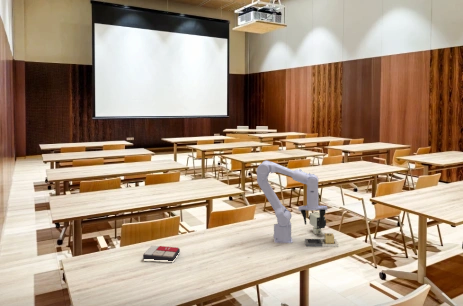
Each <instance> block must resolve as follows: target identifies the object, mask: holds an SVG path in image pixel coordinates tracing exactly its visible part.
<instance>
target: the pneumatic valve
mask: <svg viewBox="0 0 463 306" xmlns="http://www.w3.org/2000/svg"><path fill="white" fill-rule="evenodd" d="M319 219H320V213H319V212H317V211H316V212H315V211H314V212H310V213H309V215H308V220H309V225H311V226H313V227H312V233H313V234H314V235H316V236H318V235H322V229H325V228H326V226H327V219H326V216H324V217H323V219H322V224H320V223H319Z"/></svg>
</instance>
